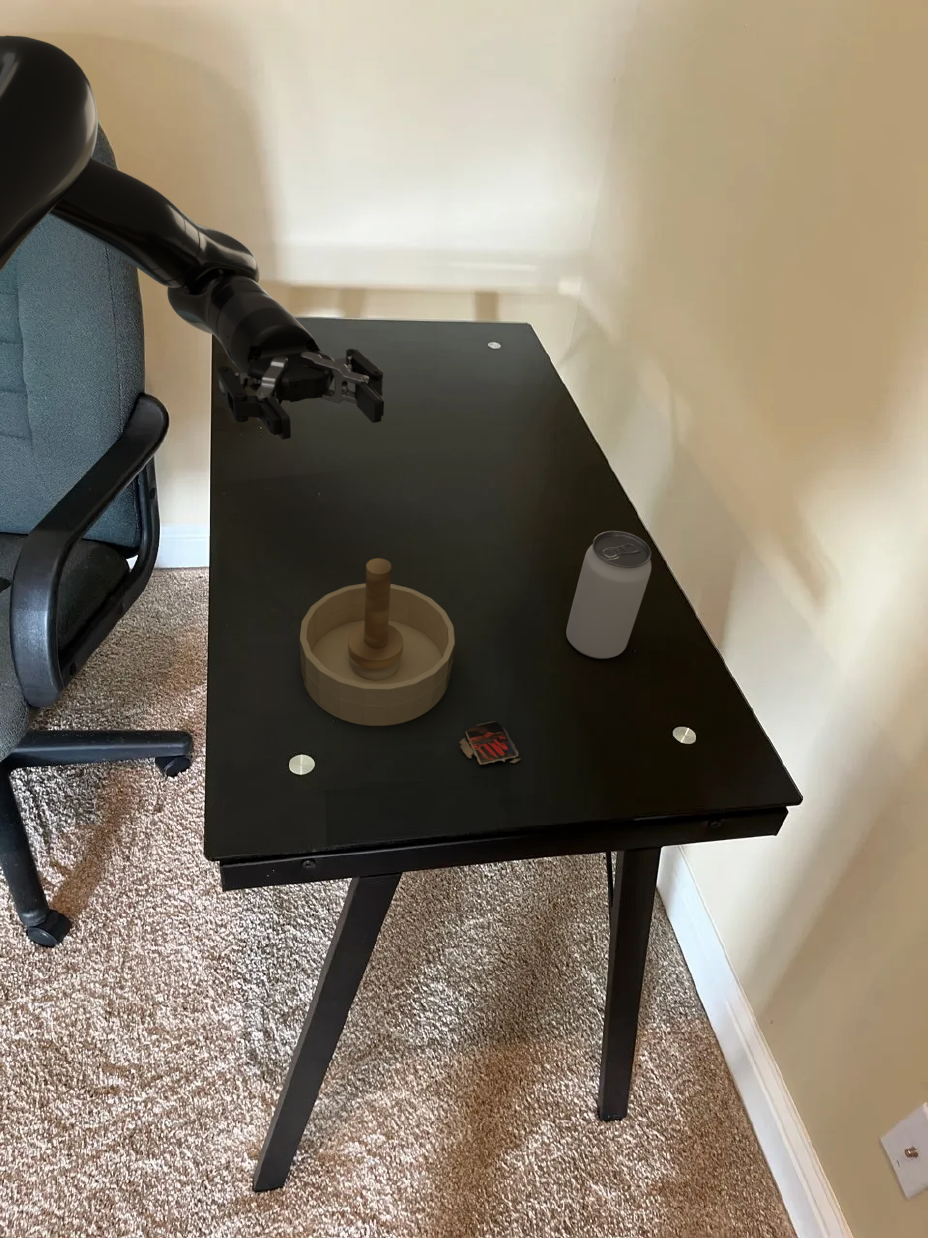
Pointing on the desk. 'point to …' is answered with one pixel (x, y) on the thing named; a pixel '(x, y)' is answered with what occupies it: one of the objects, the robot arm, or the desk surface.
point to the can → (609, 594)
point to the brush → (376, 628)
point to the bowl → (376, 699)
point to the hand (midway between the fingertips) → (333, 420)
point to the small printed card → (489, 743)
